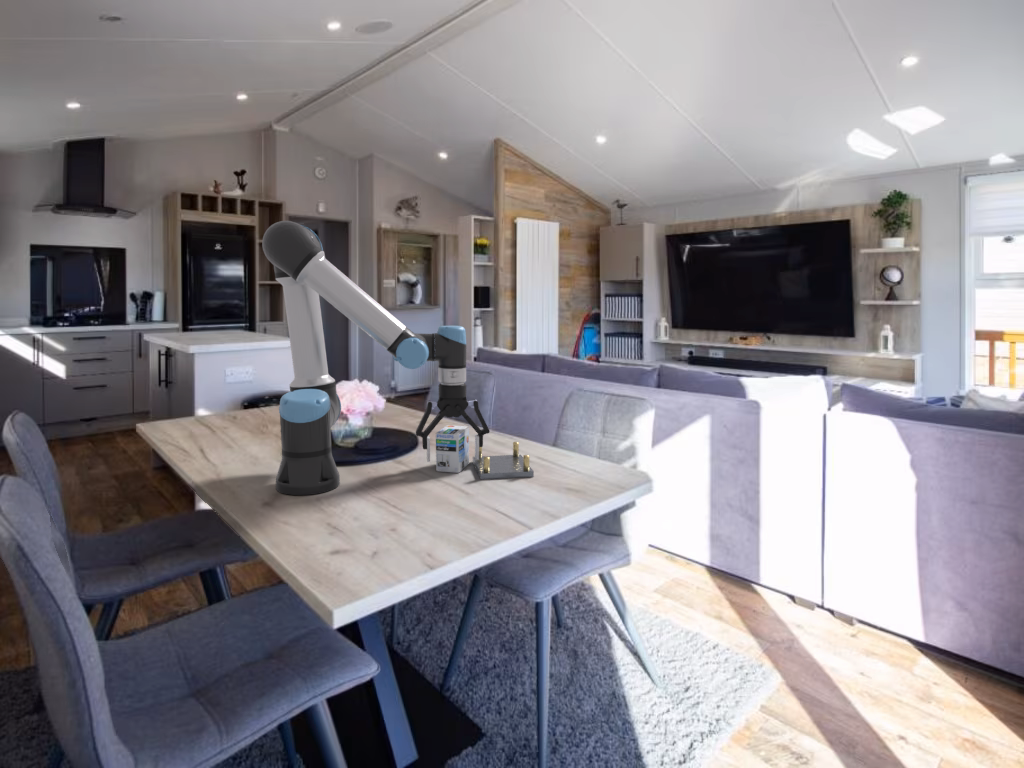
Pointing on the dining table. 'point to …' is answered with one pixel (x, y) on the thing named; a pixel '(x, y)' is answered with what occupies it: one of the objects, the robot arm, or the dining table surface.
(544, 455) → the dining table surface
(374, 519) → the dining table surface
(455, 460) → the light bulb box
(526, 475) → the chassis
